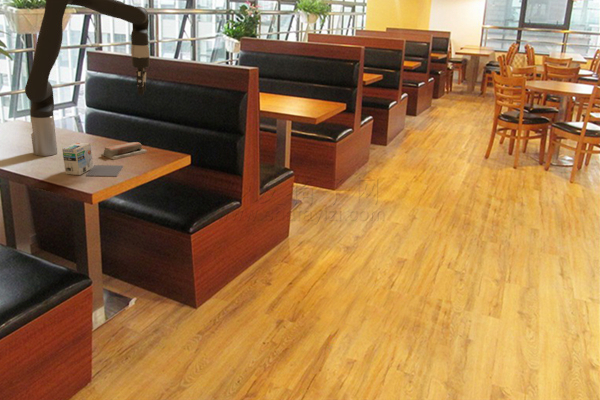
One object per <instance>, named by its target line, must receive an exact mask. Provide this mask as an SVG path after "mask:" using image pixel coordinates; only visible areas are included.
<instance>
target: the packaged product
mask: <svg viewBox="0 0 600 400" xmlns="http://www.w3.org/2000/svg"><path fill="white" fill-rule="evenodd" d="M142 146H143V144H141V143H140V142H138V141H136V142H135V141H133V142H127V143H121V144H116V145H110V146H106V147H104V149H103V152H102V153H100V155H101V156H102V157H105V158H109V159H111V160H117V159H124V158H128V156H129V157H132V156H137V155H142V154H146V153H147V151H148V150H147V149H144V148H143V147H142Z"/></svg>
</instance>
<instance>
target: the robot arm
mask: <svg viewBox="0 0 600 400" xmlns="http://www.w3.org/2000/svg"><path fill="white" fill-rule="evenodd" d="M68 5H69V6H77V7H82V8H86V9H89V10H90V11H94V12H97V13H100V14H102V15H104V16H108V17H111V18H114V19H118V20H119V19H120V20H123V21H125V22H128V23H130V24H132V25H131V26H132V30H131V33H130V34H131V35H130V36H131V37H130V40H131V48H130V49H131V50H130V52H131V53H130V54H131V66H132V68H136V69H137V70H136V71H135V75H136V86H137V94H138V96H144V92H146V82H147V68H149V67H150V66H151V63H150V61H151V60H150V59H151V58H150V47H149V19H150V17H149V11H148V10H147V9H146V8H145V7H143V6H134V5H130V4H126V3H124V2H123V1H120V0H45V6H44V7H45V8H44V13H43V17H42V20H41V24H40V29H39V33H38V35H37V40H36V45H35V50H34V55H33V59H32V65H31V70H30V72H29V75H28V78H27V81H26V83H25V87H24V93H25V95H26V97H27V98H28V99H27V100H29V101H31V107H30V110H29V111H30V122H31V130H32V133H31V134H30V136H31V144H32V145H31V146H32V152H33V155H35V156H41V157H47V156H54V155H56V154H58V143H57V136H56V135H57V134H56V127H55V116H54V109H55V101H54V89H53V85H52V84H51V82H50V81H49V77H50V74H51V72H52V69H53V67H54V65H55V63H56V62H57V60H58V57H59V55H60V52H61V48H62V44H63V36H64V32H63V20H64V19H63V18H64V16H65V12H66V9H67V7H68Z"/></svg>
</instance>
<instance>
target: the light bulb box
mask: <svg viewBox="0 0 600 400" xmlns="http://www.w3.org/2000/svg"><path fill="white" fill-rule="evenodd" d="M61 152H62V157H63V164H64V165H63V166H64V170H65V174H66V175H74V176H75V175H76V176H81V175H83V174H85V173H87V172H89V171H90V170H91V169H92V168H93V166H94V164H93V153H92V146H91V143H86V142H74V143H72V144H70V145H67V146H65V147H63V148H62V151H61Z"/></svg>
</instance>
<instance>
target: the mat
mask: <svg viewBox="0 0 600 400" xmlns="http://www.w3.org/2000/svg"><path fill="white" fill-rule="evenodd" d="M123 168H124V165H118V164H117V165H109V164H107V165H105V164H93V168H92V169H90V170H88V171H87V174H86V175H85V176H86V177H118V176H119V173H120V172H121V171H122V170H123Z"/></svg>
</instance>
